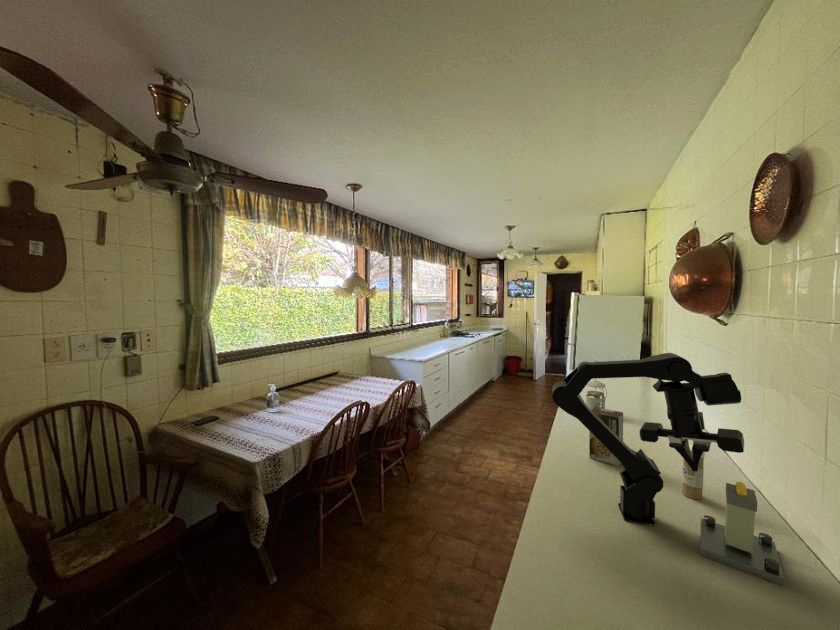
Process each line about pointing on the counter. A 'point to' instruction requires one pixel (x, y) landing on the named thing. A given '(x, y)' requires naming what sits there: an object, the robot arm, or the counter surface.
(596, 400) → the french press
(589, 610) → the counter surface
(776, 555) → the plate
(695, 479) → the sprinkles bottle
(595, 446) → the coffee box
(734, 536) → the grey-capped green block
